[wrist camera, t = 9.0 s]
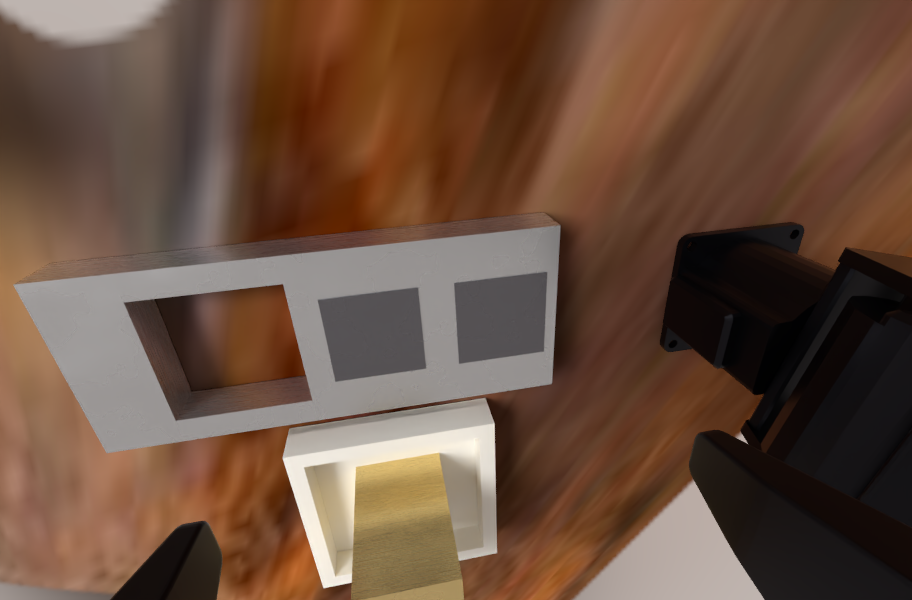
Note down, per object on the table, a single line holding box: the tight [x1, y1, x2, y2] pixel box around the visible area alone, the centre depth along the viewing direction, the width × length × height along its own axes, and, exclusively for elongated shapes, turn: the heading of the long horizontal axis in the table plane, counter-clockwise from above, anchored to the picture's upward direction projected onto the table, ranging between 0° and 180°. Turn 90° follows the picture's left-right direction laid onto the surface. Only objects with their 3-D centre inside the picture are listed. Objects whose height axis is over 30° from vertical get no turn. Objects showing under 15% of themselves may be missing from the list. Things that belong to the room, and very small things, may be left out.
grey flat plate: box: [13, 212, 561, 453], centre depth 20 cm, size 20×8×2 cm, turn 93°
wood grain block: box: [351, 453, 464, 600], centre depth 22 cm, size 4×4×7 cm
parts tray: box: [283, 398, 497, 588], centre depth 25 cm, size 10×10×2 cm
